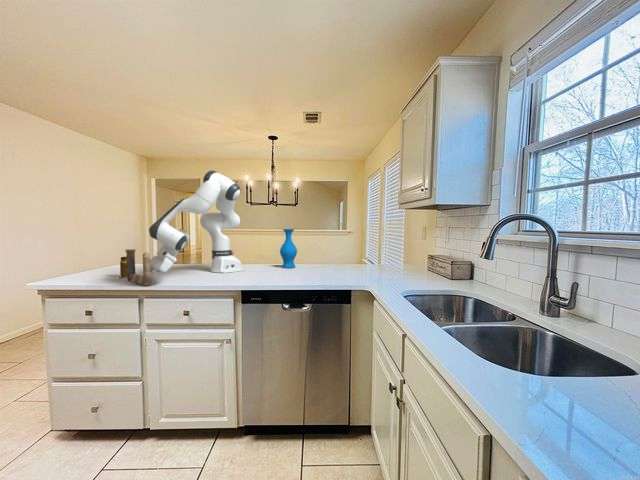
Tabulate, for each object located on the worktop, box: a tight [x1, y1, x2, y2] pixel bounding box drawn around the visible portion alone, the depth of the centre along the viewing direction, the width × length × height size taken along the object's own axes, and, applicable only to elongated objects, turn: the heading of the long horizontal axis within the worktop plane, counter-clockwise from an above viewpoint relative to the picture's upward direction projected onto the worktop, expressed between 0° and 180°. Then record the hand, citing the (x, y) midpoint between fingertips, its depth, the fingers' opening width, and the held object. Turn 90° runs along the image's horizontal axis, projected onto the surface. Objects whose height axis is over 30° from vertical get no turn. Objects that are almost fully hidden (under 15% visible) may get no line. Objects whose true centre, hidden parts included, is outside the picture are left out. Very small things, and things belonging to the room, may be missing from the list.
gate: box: [128, 252, 151, 287], centre depth 149 cm, size 21×3×17 cm, turn 56°
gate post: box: [125, 248, 136, 282], centre depth 158 cm, size 4×4×17 cm
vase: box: [279, 228, 298, 269], centre depth 206 cm, size 12×13×28 cm
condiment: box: [115, 255, 127, 278], centre depth 167 cm, size 7×8×12 cm
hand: (148, 276), depth 148 cm, fingers closed
